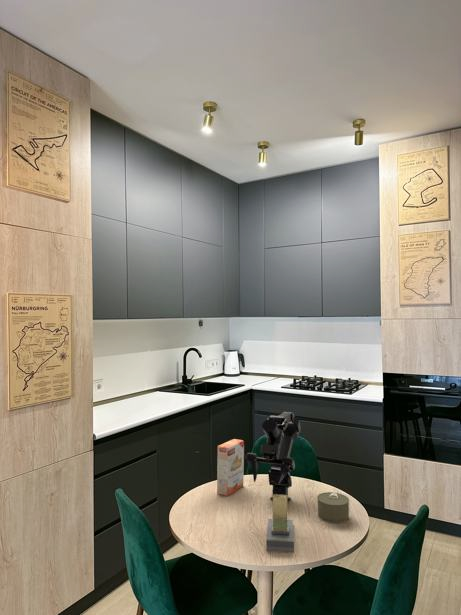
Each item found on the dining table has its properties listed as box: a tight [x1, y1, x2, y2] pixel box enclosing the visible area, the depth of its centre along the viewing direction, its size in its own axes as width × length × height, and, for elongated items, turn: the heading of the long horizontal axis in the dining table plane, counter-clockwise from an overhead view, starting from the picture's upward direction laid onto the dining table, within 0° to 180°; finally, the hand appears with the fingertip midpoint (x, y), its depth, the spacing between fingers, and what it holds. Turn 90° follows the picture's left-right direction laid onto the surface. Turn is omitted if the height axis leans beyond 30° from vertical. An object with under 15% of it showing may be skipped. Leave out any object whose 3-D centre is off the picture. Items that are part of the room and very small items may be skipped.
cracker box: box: [216, 438, 245, 497], centre depth 195 cm, size 14×6×21 cm, turn 148°
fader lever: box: [272, 494, 289, 535], centre depth 153 cm, size 5×6×12 cm
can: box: [316, 491, 350, 524], centre depth 169 cm, size 12×12×7 cm
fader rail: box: [265, 518, 295, 554], centre depth 153 cm, size 20×9×4 cm, turn 173°
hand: (266, 482), depth 165 cm, fingers open, 9 cm apart
